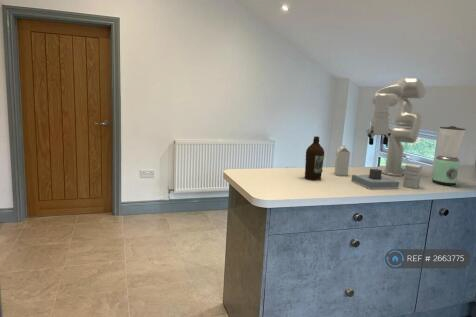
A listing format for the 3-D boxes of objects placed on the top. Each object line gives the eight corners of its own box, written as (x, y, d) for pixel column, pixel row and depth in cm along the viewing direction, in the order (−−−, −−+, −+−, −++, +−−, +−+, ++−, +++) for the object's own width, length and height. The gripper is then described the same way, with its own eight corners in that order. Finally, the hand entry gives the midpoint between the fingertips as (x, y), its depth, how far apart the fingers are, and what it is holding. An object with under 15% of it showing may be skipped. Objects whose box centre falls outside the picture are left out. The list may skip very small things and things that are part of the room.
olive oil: (299, 177, 216) (303, 135, 212) (312, 175, 222) (316, 135, 218) (312, 181, 207) (316, 137, 203) (325, 179, 213) (329, 137, 209)
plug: (375, 182, 209) (376, 168, 208) (380, 184, 205) (381, 170, 204) (368, 182, 208) (370, 168, 207) (373, 184, 204) (375, 170, 202)
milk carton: (345, 173, 234) (348, 144, 231) (347, 176, 227) (350, 146, 224) (334, 173, 235) (337, 144, 231) (336, 175, 228) (339, 145, 224)
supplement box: (405, 184, 213) (408, 163, 211) (419, 187, 208) (422, 165, 206) (402, 186, 207) (405, 164, 205) (416, 189, 203) (419, 167, 201)
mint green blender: (463, 187, 213) (473, 128, 207) (441, 186, 212) (451, 127, 206) (443, 180, 232) (451, 125, 226) (423, 179, 231) (431, 124, 225)
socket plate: (377, 181, 218) (378, 173, 217) (398, 188, 201) (399, 180, 200) (351, 181, 213) (352, 173, 212) (370, 189, 196) (371, 181, 195)
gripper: (389, 114, 216) (385, 143, 219) (364, 114, 211) (361, 143, 215) (397, 116, 209) (394, 145, 212) (372, 116, 204) (369, 146, 207)
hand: (377, 144), depth 213 cm, fingers open, 9 cm apart
